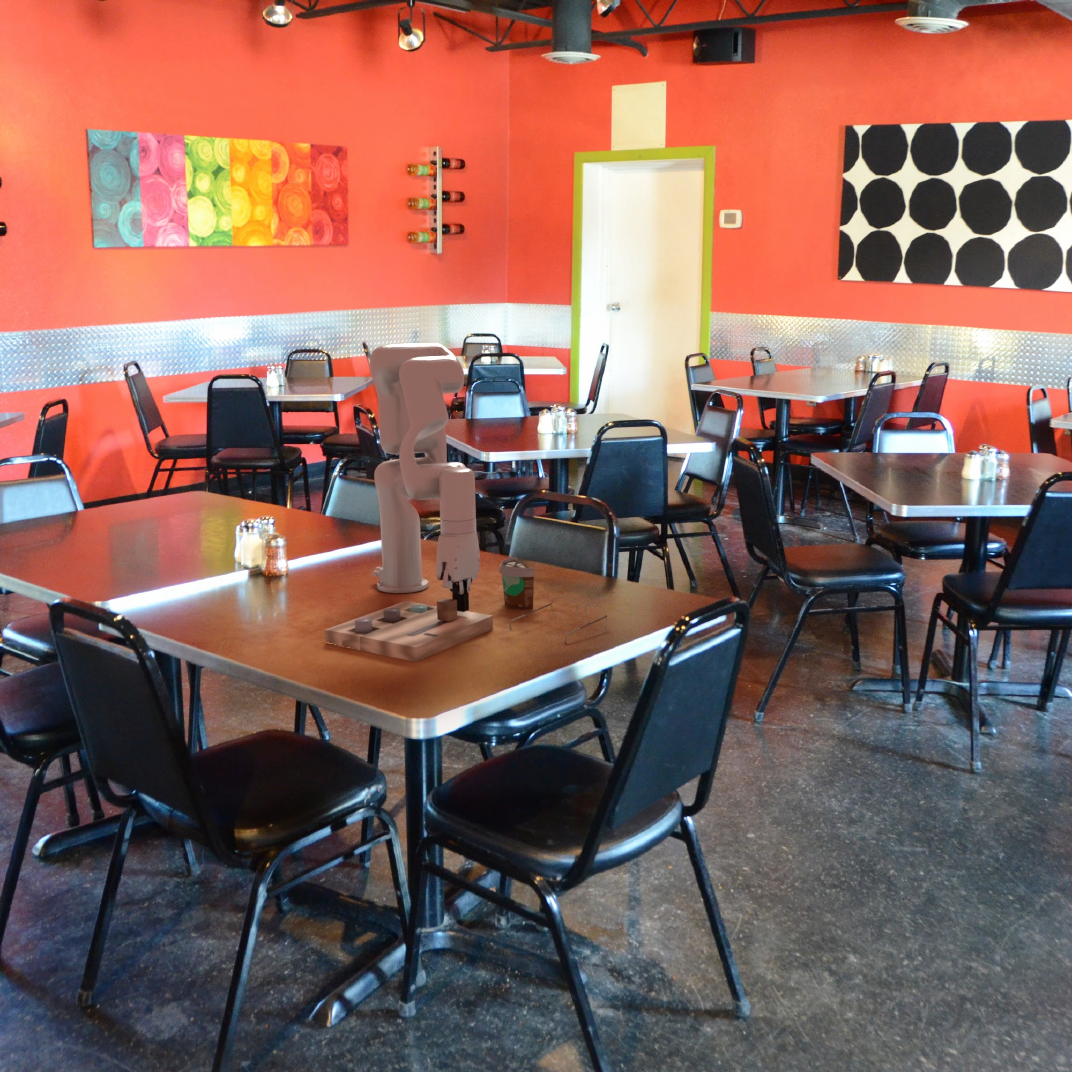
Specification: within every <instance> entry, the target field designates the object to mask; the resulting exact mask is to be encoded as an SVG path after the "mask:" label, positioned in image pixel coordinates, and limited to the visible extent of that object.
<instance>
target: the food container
mask: <svg viewBox="0 0 1072 1072" xmlns="http://www.w3.org/2000/svg"><path fill="white" fill-rule="evenodd" d="M498 573H499V574H501V580H502V591H503V599H504V601H503V602H504V607H506V608H508V609H512V610H525V611H526V610H534V593H535V592H534V588H535V586H534V585H535V584H534V583H535V582H534V581H535V577H536V574H535V573H536V571H535V567H534V566H533V567H532V566H531V567H528V566H527V565H526V564H525V563H522V562H519V561H518V556H516V557H515V556H513V557H509V558H505V559H503V560H502V561H501V562H500V564H499V569H498Z"/></svg>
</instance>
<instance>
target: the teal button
mask: <svg viewBox="0 0 1072 1072" xmlns="http://www.w3.org/2000/svg"><path fill="white" fill-rule="evenodd" d="M426 611H427V606H426V605H414V606H411V612H415V613H420V614H421V613H423V612H426Z"/></svg>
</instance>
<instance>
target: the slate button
mask: <svg viewBox="0 0 1072 1072" xmlns="http://www.w3.org/2000/svg"><path fill="white" fill-rule="evenodd" d="M358 618H359V617H358ZM355 619H356V618H355ZM370 632H373V628H372V619H370V618H359V619H356V620H355V633H360V634H367V633H370Z"/></svg>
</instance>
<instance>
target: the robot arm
mask: <svg viewBox="0 0 1072 1072" xmlns="http://www.w3.org/2000/svg"><path fill="white" fill-rule="evenodd" d="M369 370H370V376H371V379H372V382H373V385H374V387H375V390H376V394H377V398H378V399H377V400H378V406H377V407H378V427H379V428H378V430H379V432H378V433H379V444H380V448H381V449H382V451H383V452H385V453H387V454H390V455H399V456H398V457H399V458H397V459H391V460H386V461H383V462H381V463H380V464H378V465H377V467H376V468H375V469H374V472H373V473H374V474H373V475H374V476H373V477H374V478H373V479H374V484H375V485H374V486H375V490H376V496H377V498H378V507H379V520H380V522H379V523H380V524H379V525H380V539H381V541H380V543H381V561H382V565H381V566H376V567H375V568H374V570H373V571H372V573H371V574H372V576H373V577H378V578H379V581H378V582H377V583H376V589H377V590H378V591H380V592H384V593H391V594H409V593H414V592H415V593H416V592H420V591H423V590H426V589H428V587H429V581H428V579H425V578H423V571H422V570H423V569H422V546H421V545H422V541H421V522H420V521H421V519H420V515H419V513H418V511H417V509H416V508H415V507H414V506H413V504H411V502H410V499H414V500H417V501H418V500H419V501H420V500H422V501H424V500H432V499H439V522H440V534H439V536H438V539H437V547H436V548H437V549H436V566H435V569H436V571H435V572H436V579H437V580H438V581H442V588H443V589H449V590H450V591H449V592H450V593H451V597H452V598H451V599H454V600H457V611H460V612H465V611H468V612H469V611H470V595H469V594H470V593H469V592H471V585H472V582H473V581H476V579H477V578H478V574H479V573H480V570H481V569H480V568H481V556H480V555H481V554H480V546H479V538H478V537H479V536H478V532H477V519H476V518H477V517H476V515H477V513H476V512H477V511H476V477H475V472H474V471H473V470H472V469H471V468H469V467H467V466H466V465H465V464H464V463H462V462H457V461H453V462H451V461H449V462H448V461H447V460H448V459H447V456H448V454H447V432H446V425H448V422H449V419H450V417H449V413H448V409H447V406H446V401H445V398H444V394H446V395H447V394H458V393H459V392H460V391H462V389H463V387H464V384H465V373H464V369H463V365H462V363H461V362H460V360H459V359H458V357H457V356H456V355H455V354H454V353H453V352H451V350H449V349H448V348H446V347H445V346H444V345H442V343H441V344H440V343H435V342H433V343H432V342H428V343H426V342H425V343H423V342H422V343H421V342H419V343H395V344H393V343H392V344H385V345H381V346H377V347H376V348H374V349H373V351H372V352H371V354H370V357H369ZM420 453H422V454H423V453H424V457H416V455H415V454H420Z"/></svg>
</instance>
